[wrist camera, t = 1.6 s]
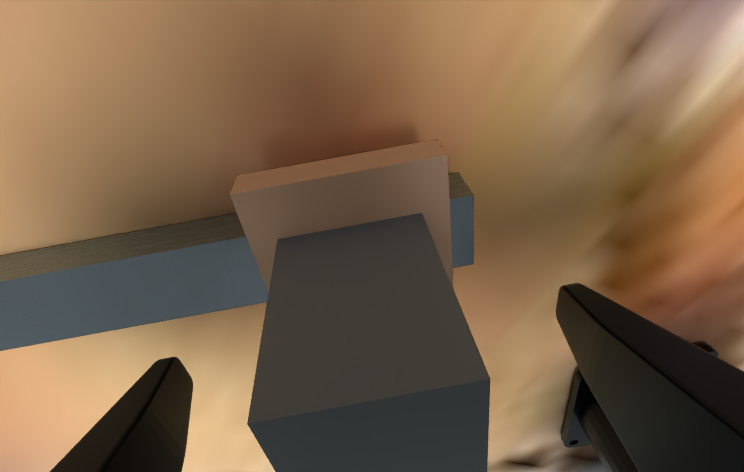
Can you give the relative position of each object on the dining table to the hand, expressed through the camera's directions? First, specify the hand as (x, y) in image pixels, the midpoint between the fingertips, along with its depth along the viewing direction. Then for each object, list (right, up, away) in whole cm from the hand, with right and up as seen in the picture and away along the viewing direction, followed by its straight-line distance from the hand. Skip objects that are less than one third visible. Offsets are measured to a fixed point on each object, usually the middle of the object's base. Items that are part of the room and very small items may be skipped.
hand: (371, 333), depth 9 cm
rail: (-6, +2, +4) cm, 7 cm away
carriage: (-1, +3, +4) cm, 5 cm away
